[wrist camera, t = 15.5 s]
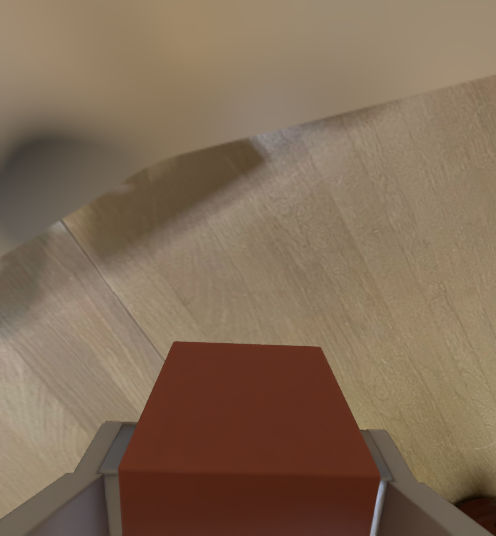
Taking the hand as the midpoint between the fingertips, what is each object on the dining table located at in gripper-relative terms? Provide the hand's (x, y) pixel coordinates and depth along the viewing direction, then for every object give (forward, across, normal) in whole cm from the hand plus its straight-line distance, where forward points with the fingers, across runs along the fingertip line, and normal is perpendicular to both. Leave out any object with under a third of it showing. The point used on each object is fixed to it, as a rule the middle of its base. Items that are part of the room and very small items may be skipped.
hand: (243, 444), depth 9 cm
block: (+2, 0, 0) cm, 2 cm away
